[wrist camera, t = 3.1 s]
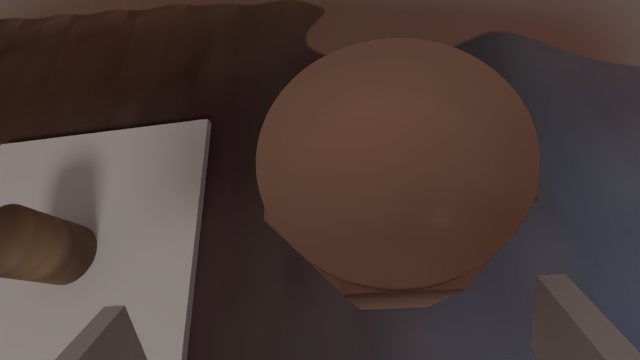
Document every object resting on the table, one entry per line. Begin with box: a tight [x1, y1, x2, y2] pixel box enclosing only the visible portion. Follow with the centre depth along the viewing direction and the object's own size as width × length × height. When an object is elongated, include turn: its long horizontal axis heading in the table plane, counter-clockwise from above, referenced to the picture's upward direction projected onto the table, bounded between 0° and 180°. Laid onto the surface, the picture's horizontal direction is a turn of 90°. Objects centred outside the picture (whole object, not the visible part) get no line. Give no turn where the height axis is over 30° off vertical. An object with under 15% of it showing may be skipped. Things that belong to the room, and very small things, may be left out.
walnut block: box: [0, 204, 97, 285], centre depth 20 cm, size 4×4×4 cm
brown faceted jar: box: [256, 38, 541, 310], centre depth 15 cm, size 8×8×11 cm
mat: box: [0, 119, 212, 360], centre depth 23 cm, size 17×18×1 cm
